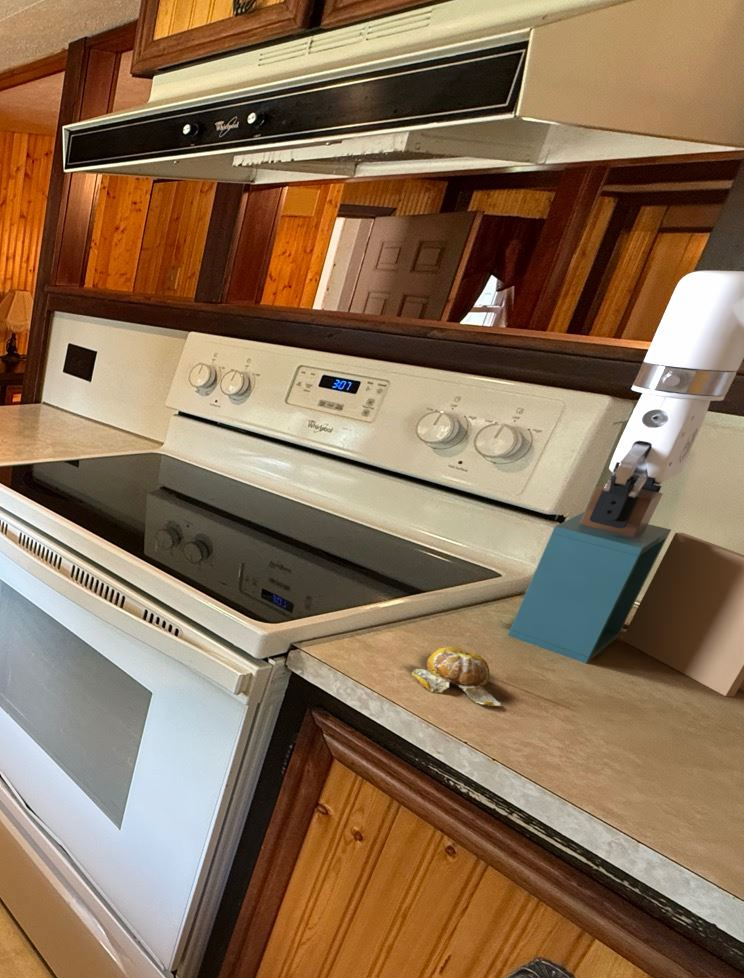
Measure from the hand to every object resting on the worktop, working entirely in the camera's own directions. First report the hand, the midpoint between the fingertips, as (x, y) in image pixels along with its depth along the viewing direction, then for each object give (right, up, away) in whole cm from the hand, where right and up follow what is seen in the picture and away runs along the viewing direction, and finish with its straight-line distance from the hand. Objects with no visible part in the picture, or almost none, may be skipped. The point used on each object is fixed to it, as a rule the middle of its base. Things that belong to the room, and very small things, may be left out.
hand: (618, 518), depth 91 cm
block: (0, -1, +1) cm, 1 cm away
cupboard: (-1, -16, +7) cm, 17 cm away
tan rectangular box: (+10, -19, 0) cm, 22 cm away
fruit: (-26, -20, -5) cm, 33 cm away
